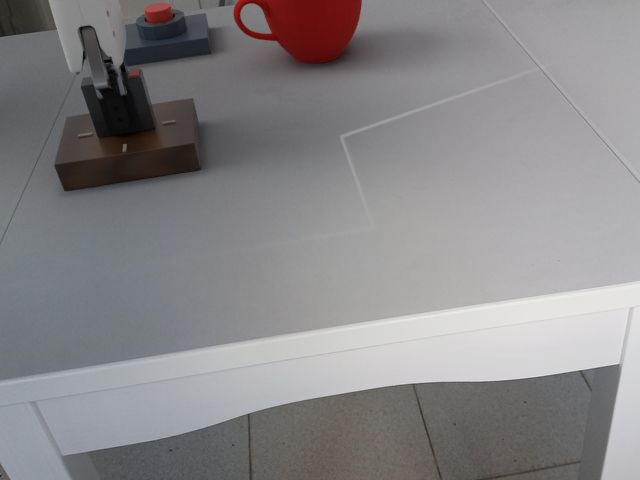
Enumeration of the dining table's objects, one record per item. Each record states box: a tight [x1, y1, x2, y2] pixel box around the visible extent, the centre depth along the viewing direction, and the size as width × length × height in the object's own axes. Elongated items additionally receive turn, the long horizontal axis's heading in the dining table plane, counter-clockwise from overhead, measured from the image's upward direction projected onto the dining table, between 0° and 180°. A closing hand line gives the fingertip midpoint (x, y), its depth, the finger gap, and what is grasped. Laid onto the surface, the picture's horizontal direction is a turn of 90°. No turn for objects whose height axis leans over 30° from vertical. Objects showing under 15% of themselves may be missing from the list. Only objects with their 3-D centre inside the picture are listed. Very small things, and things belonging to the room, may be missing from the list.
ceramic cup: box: [232, 0, 363, 64], centre depth 91 cm, size 13×17×10 cm
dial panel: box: [53, 97, 202, 192], centre depth 77 cm, size 14×11×3 cm
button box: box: [124, 8, 212, 67], centre depth 100 cm, size 12×10×4 cm
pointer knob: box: [80, 67, 156, 138], centre depth 74 cm, size 6×2×6 cm, turn 99°
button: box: [143, 2, 174, 23], centre depth 98 cm, size 4×4×2 cm
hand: (125, 124), depth 76 cm, fingers closed on pointer knob, 2 cm apart
